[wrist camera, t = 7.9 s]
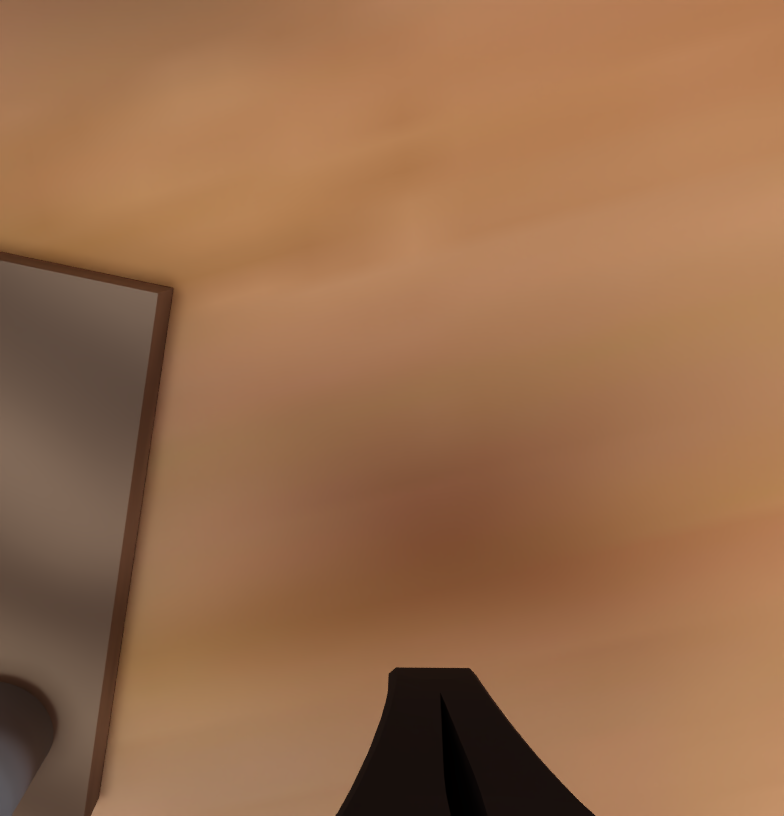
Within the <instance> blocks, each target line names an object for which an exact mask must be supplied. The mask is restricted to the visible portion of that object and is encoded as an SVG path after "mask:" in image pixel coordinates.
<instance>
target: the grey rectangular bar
mask: <svg viewBox="0 0 784 816" xmlns="http://www.w3.org/2000/svg"><path fill="white" fill-rule="evenodd" d="M53 733H54V731H53V724H52V721H51V718H50V716H49V713H48V712H47V710H46V708H45V707H44V706H43V705H42V703H41V702H40V701H39V700H38V699H37V698H36V697H35V696H33V695H32V694H31V693H29V692H28V691H26V690H24V689H22V688H20V687H18V686H16V685H12V684H9V683H5V682H0V816H12V814H13V812H14V810H15V809H16V807H17V805H18V804H19V802H20V800H21V799H22V797H23V795H24V793H25V792H26V790H27V788H28V787H29V785H30V783H31V782H32V780H33V778H34V777H35V775H36V773H37V771H38V770H39V768H40V766H41V765H42V763H43V761H44V760H45V758H46V756H47V754H48V753H49V751H50V749H51V746H52V742H53Z"/></svg>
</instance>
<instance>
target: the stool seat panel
mask: <svg viewBox="0 0 784 816" xmlns="http://www.w3.org/2000/svg"><path fill="white" fill-rule="evenodd" d="M172 294H173V288H171V287H166V286H161V285H156V284H152V283H147V282H142V281H137V280H132V279H128V278H123V277H118V276H113V275H109V274H104V273H99V272H94V271H90V270H85V269H80V268H75V267H71V266H66V265H61V264H56V263H52V262H47V261H42V260H37V259H33V258H28V257H23V256H18V255H14V254H9V253H4V252H0V682H5V683H9V684H12V685H16V686H18V687H20V688H22V689H24V690H26V691H28V692H29V693H31V694H32V695H33V696H35V697H36V698H37V699H38V700H39V701H40V702H41V703H42V705H43V706H44V707H45V708H46V710H47V712H48V713H49V716H50V718H51V721H52V724H53V731H54V733H53V742H52V746H51V749H50V751H49V753H48V754H47V756H46V758H45V760H44V761H43V763H42V765H41V766H40V768H39V770H38V771H37V773H36V775H35V777H34V778H33V780H32V782H31V783H30V785H29V787H28V788H27V790H26V792H25V793H24V795H23V797H22V799H21V800H20V802H19V804H18V805H17V807H16V809H15V810H14V812H13V814H12V816H91V814H92V811H93V809H94V807H95V805H96V803H97V800H98V798H99V792H100V785H101V778H102V771H103V765H104V758H105V751H106V744H107V737H108V731H109V724H110V717H111V710H112V703H113V696H114V690H115V683H116V676H117V669H118V662H119V655H120V649H121V642H122V635H123V628H124V621H125V615H126V608H127V601H128V594H129V587H130V580H131V574H132V567H133V560H134V553H135V546H136V539H137V533H138V526H139V519H140V512H141V505H142V499H143V492H144V485H145V478H146V471H147V464H148V458H149V451H150V444H151V437H152V430H153V423H154V417H155V410H156V403H157V396H158V389H159V383H160V376H161V369H162V362H163V355H164V348H165V342H166V335H167V328H168V321H169V314H170V307H171V301H172Z"/></svg>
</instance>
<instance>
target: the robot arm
mask: <svg viewBox="0 0 784 816" xmlns="http://www.w3.org/2000/svg"><path fill="white" fill-rule="evenodd" d="M336 816H595V815H594V814H593V813H592V812H591V811H590V810H589V809H587V808H586V807H585V806H584V805H583V804H582V803H581V802H580V801H579V800H578V799H577V798H576V797H575V796H574V795H573V794H572V793H571V792H570V791H569V790H568V789H567V788H566V787H565V786H564V785H563V784H562V783H561V782H560V780H559V779H558V778H557V777H556V776H555V775H554V774H553V773H552V772H551V771H550V770H549V769H548V767H547V766H546V765H545V764H544V763H543V762H542V761H541V760H540V758H539V757H538V756H537V755H536V754H535V753H534V751H533V750H532V749H531V748H530V747H529V745H528V744H527V743H526V742H525V740H524V739H523V738H522V737H521V736H520V734H519V733H518V732H517V731H516V730H515V728H514V727H513V726H512V724H511V723H510V722H509V721H508V719H507V718H506V717H505V715H504V714H503V713H502V711H501V710H500V709H499V707H498V706H497V705H496V703H495V702H494V700H493V699H492V698H491V696H490V695H489V693H488V692H487V691H486V689H485V688H484V686H483V685H482V683H481V682H480V680H479V679H478V678H477V676H476V675H475V674H474V672H473V671H472V670H471V669H470V668H395V669H394V670H393V671H391V672H390V673H389V680H388V694H387V699H386V703H385V706H384V710H383V713H382V717H381V720H380V723H379V725H378V728H377V731H376V733H375V736H374V739H373V742H372V744H371V747H370V749H369V752H368V754H367V756H366V758H365V760H364V762H363V765H362V767H361V769H360V771H359V773H358V775H357V777H356V779H355V782H354V784H353V786H352V788H351V790H350V791H349V793H348V795H347V797H346V799H345V801H344V802H343V804H342V806H341V808H340V809H339V811H338V813H337V814H336Z"/></svg>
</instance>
